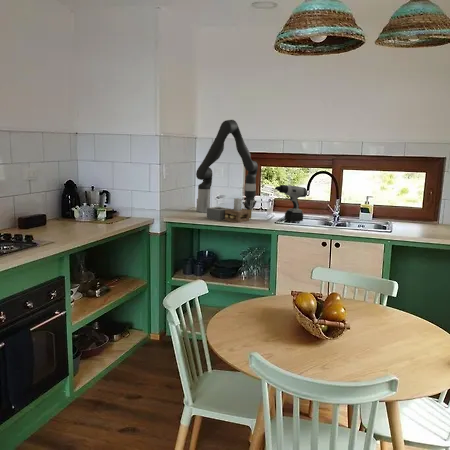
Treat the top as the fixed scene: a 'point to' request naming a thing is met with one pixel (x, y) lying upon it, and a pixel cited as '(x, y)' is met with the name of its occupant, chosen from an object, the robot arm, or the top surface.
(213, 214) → the grey square box
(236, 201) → the steel peg
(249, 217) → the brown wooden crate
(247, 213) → the socket block
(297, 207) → the cordless drill
